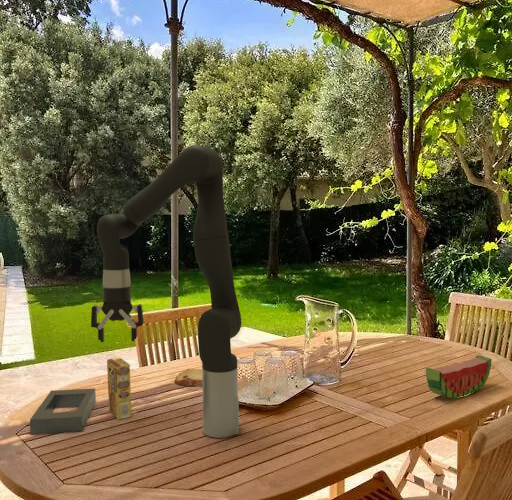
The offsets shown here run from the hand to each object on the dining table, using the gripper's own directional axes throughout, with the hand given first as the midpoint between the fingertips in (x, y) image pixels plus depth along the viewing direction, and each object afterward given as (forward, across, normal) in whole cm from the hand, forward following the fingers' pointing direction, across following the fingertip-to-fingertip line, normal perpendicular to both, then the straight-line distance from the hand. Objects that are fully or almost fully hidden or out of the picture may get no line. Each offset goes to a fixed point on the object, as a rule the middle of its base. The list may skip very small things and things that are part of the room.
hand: (117, 341), depth 149 cm
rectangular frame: (+21, -15, 0) cm, 26 cm away
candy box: (+22, 0, 0) cm, 22 cm away
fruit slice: (+21, +105, +1) cm, 107 cm away
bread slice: (+22, +26, +26) cm, 43 cm away
